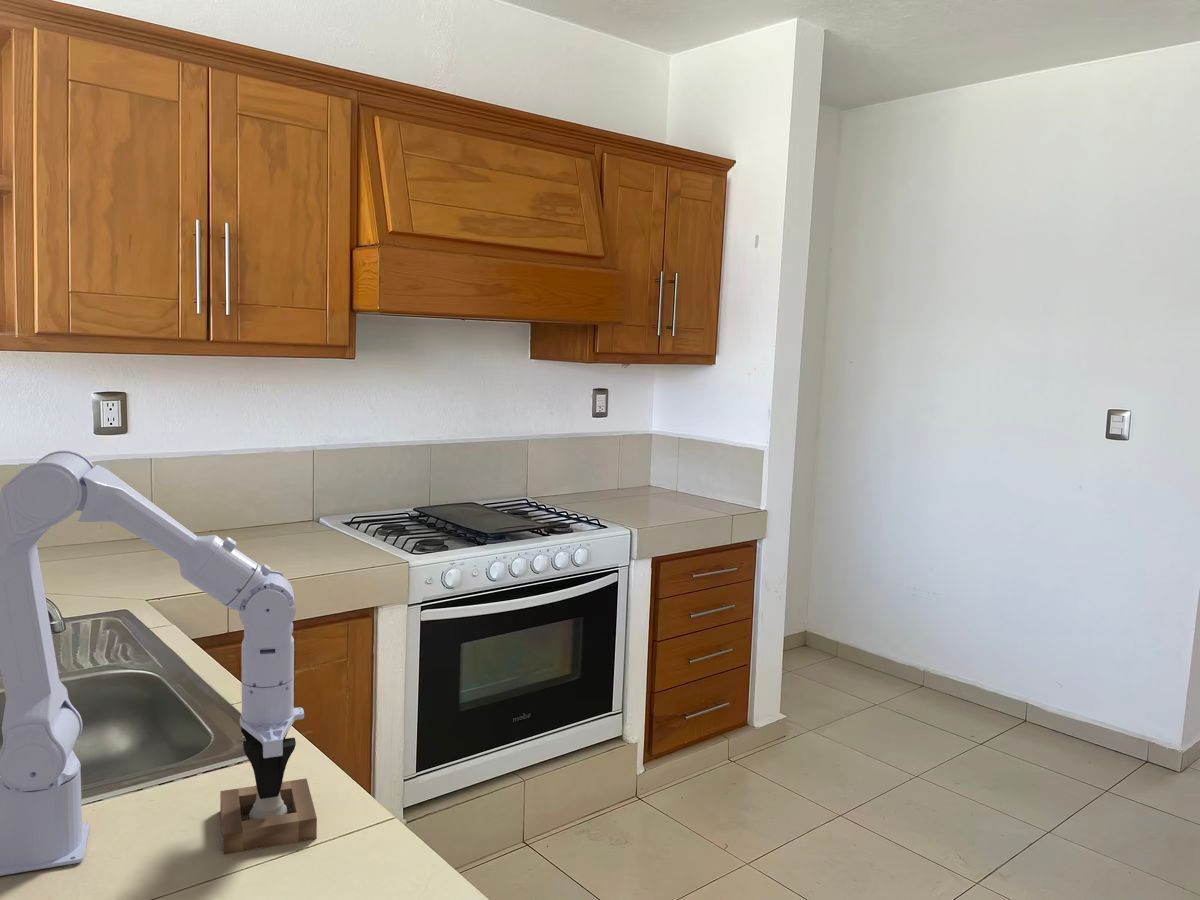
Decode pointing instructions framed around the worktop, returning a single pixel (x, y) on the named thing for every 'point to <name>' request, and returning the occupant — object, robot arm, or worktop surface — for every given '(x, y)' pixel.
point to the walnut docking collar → (267, 818)
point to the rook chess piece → (267, 807)
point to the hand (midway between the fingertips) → (267, 788)
